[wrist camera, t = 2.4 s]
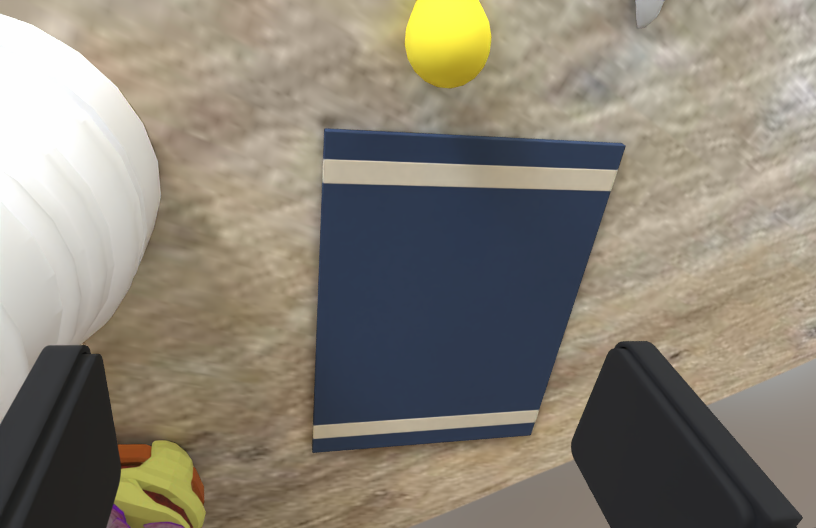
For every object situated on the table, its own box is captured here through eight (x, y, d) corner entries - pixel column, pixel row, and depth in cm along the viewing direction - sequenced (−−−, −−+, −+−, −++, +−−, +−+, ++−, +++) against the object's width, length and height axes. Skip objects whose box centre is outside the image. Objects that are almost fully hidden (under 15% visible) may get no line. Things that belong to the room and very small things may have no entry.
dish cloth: (324, 128, 25) (324, 131, 24) (622, 142, 28) (626, 145, 28) (312, 448, 36) (312, 453, 35) (528, 431, 39) (530, 435, 39)
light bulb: (414, 91, 25) (404, 91, 21) (405, -60, 23) (391, -86, 20) (491, 85, 24) (493, 84, 21) (487, -70, 22) (488, -99, 19)
